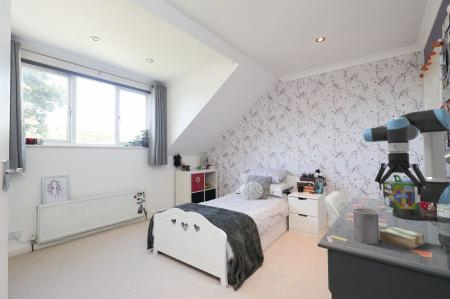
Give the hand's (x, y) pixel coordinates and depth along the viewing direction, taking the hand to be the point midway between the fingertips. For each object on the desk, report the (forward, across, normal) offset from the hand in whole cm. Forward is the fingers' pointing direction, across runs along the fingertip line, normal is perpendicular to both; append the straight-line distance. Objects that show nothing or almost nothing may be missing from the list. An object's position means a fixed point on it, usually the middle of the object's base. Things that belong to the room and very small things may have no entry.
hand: (399, 199), depth 100 cm
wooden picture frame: (+19, 0, 0) cm, 19 cm away
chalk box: (+4, 0, 0) cm, 4 cm away
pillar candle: (+19, -8, -12) cm, 24 cm away
